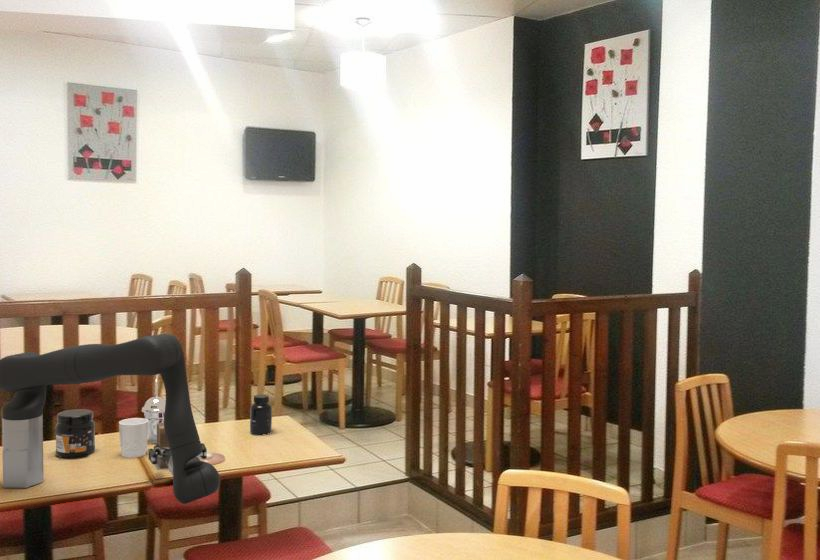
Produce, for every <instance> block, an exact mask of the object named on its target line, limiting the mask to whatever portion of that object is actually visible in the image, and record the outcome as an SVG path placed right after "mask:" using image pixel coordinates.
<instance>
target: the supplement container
mask: <svg viewBox="0 0 820 560" xmlns="http://www.w3.org/2000/svg"><path fill="white" fill-rule="evenodd" d="M93 419H94V412H93V410H90V409H85V408H81V409H80V408H78V409H67V410H63V411H60V412H57V414H56V422H57V423H56V424H55V425H54V426H55V427H54V428H55V455H57V456H58V457H60V458H64V459H79V458H78V457H80V458H84V457H88V456H89V455H91V454H93V453H94V452H95V450H96V441H95V440H96V438H95V437H96V435H95V434H96V433H95V427H96V422H95V421H94V420H93ZM87 455H88V456H87Z"/></svg>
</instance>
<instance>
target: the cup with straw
mask: <svg viewBox="0 0 820 560" xmlns="http://www.w3.org/2000/svg"><path fill="white" fill-rule="evenodd" d="M159 375H160V374H157V375H155V380H154V382H155V383H154V384H155V385H154V390H155V393H154V394H155V395H154V396H153V397H150V398H149V399H147V400H146V401H145V403H144V406H142V407H141V412H142V413H143V415H144V419H147V420H148V435H147V440H148V443H150V444H157V423H163V422H164V413H165V404H166V398H164V397H161V396H158V389H159V388H158V383H159Z"/></svg>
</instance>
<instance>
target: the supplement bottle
mask: <svg viewBox="0 0 820 560" xmlns="http://www.w3.org/2000/svg"><path fill="white" fill-rule="evenodd" d="M269 402H270V396H269V395H267V394H256V395H254V396H253V403H252V404H251V405H250V409H249V410H250V411H249V415H250V418H249V421H250V422H249V423H250V424H249V427H250V429H249V430H250V431H249V432H250V433H251V434H252V435H254V436H264V435H263V434H266V435H269V434H271V433H272V428H273V427H272V425H273V422H272V421H273V420H272V419H273V417H272V416H273V407H272V404H270V403H269ZM270 432H271V433H270ZM268 433H269V434H268Z"/></svg>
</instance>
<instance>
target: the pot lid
mask: <svg viewBox="0 0 820 560" xmlns="http://www.w3.org/2000/svg"><path fill="white" fill-rule="evenodd" d="M199 458H200V460H201V461H204V462H207V463H210V464H211V465H212V466H215V465H219V464H221V463H223V462H224V461H225V460H226V459H225V455H223V454H221V453H216V452H207V458H206V459H202V457H200V456H199Z"/></svg>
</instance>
